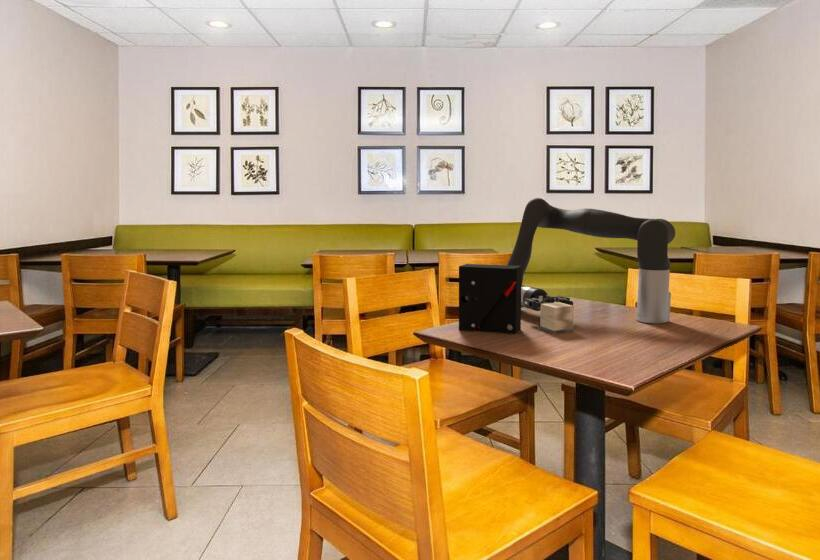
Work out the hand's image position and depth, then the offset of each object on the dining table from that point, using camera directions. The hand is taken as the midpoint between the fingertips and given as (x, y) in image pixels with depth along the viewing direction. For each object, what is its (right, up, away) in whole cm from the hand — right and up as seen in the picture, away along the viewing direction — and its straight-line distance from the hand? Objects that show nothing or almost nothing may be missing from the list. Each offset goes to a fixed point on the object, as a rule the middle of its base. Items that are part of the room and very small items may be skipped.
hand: (561, 305), depth 174 cm
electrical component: (-23, -7, -3) cm, 24 cm away
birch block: (-3, -7, -4) cm, 9 cm away
